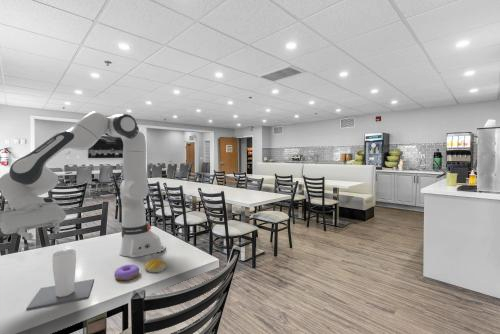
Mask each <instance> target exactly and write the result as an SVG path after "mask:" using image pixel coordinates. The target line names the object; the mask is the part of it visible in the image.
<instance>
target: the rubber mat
mask: <svg viewBox="0 0 500 334" xmlns="http://www.w3.org/2000/svg"><path fill="white" fill-rule="evenodd" d="M94 281H95V279H93V278H92V279H87V280H81V281H74V292H73V293H72V294H70V295H68V296H65V297H57V296H56V289H55V285H51V286H45V287H40V288H39V290H37V293H36V294H35V296H34V297H33V298H32V299H31V301H30V303H28V305H27V307H26V310H25V311H29V310H28V309H30V310H34V309H33V308H35V309H40V308H44V307H50V306H55V305H59V304H60V305H61V304H66V303H70V302H74V301H81V300H85V299H89V298H90V297H89V296H90V293H91V290H92V288H93V285H94Z"/></svg>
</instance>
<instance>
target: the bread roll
mask: <svg viewBox="0 0 500 334" xmlns="http://www.w3.org/2000/svg"><path fill="white" fill-rule="evenodd" d="M166 267H167V263H166V262H165V261H164V260H162V259H161V260H160V259H157V258H154V259H150V260H148V261H147V262H146V264H145V266H144V269H145V271H146V272H149V273H150V274H151V273H153V274H154V273H155V274H156V273H159V272H162V271H164V270H165V269H166Z"/></svg>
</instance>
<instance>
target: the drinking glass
mask: <svg viewBox="0 0 500 334" xmlns="http://www.w3.org/2000/svg"><path fill="white" fill-rule="evenodd" d="M51 260H52V263H51V264H52V272H53V280H54V286H55V289H56V296H57V297H65V296H68V295H70V294H72V293H73V292H74V282H76V281H75V279H76V268H77V267H76V266H77V252H76V249H74V248H73V249H71V248H69V249H63V250H60V251H56V252H54V253H52V259H51Z"/></svg>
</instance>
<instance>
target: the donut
mask: <svg viewBox="0 0 500 334" xmlns="http://www.w3.org/2000/svg"><path fill="white" fill-rule="evenodd" d="M139 273H140V268H139V266H138V265H136V264H131V263H130V264H125V265H121V266H120V267H118V268H116V270H115V271H114V272H113V274H114V278H115V279H116V280H119V281H129V280H132V279H134V278H136V277H137V276H138V274H139Z"/></svg>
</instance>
